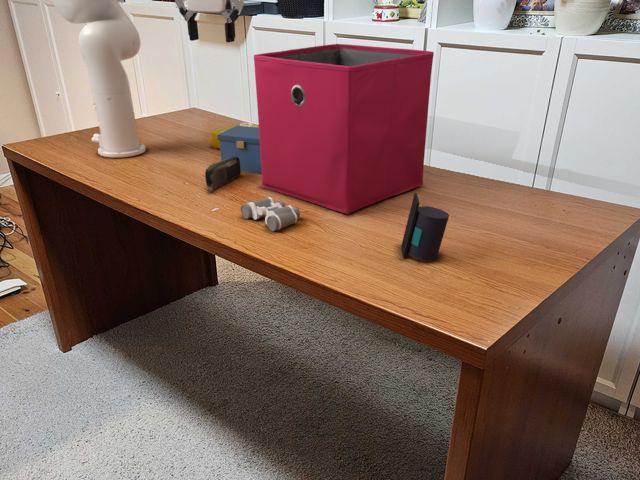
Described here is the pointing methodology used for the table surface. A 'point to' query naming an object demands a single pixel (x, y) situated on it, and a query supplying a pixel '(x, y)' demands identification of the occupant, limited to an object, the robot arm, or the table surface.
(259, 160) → the blue box
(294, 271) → the table surface
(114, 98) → the robot arm
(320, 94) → the storage bin
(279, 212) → the binoculars
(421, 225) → the speaker
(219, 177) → the mobile phone
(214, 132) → the element tile
